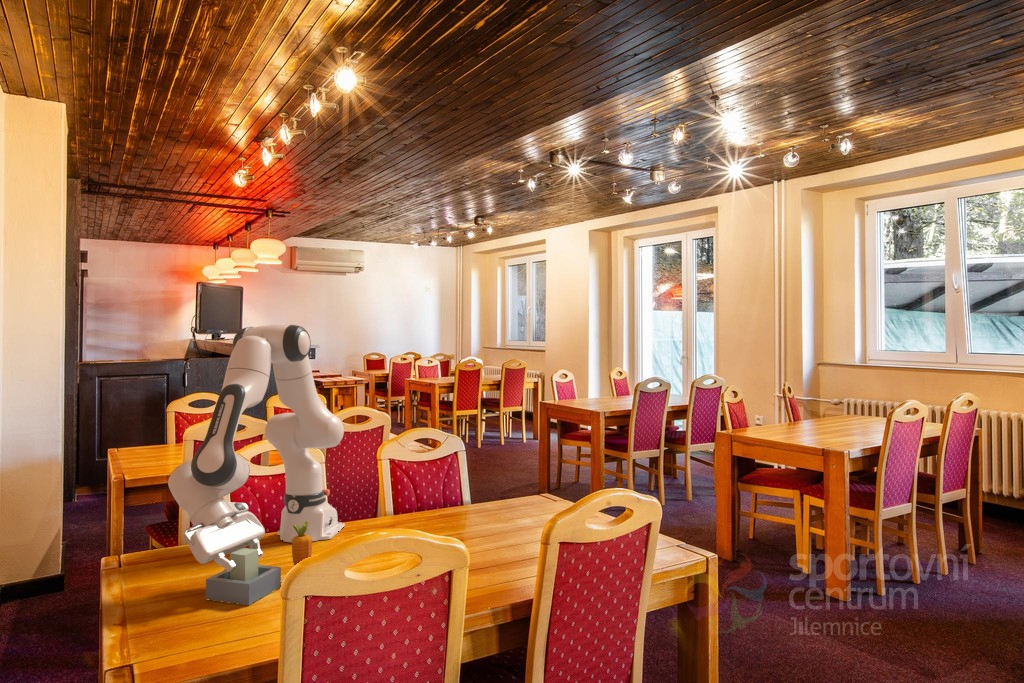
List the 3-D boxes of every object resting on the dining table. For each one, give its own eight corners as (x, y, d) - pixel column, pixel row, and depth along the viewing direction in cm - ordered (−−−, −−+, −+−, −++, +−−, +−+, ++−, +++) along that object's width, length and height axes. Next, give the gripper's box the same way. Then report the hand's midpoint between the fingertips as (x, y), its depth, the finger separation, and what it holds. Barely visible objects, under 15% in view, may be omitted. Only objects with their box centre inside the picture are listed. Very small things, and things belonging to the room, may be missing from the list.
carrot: (290, 584, 163) (291, 524, 163) (292, 577, 167) (292, 519, 168) (311, 582, 164) (311, 523, 164) (312, 575, 169) (312, 518, 169)
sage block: (243, 584, 159) (243, 547, 159) (258, 586, 158) (258, 549, 158) (229, 590, 155) (230, 553, 155) (245, 593, 153) (245, 555, 154)
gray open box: (239, 582, 164) (239, 562, 164) (280, 587, 160) (280, 567, 161) (205, 600, 152) (205, 579, 152) (249, 605, 149) (249, 584, 149)
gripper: (188, 521, 149) (222, 568, 146) (250, 501, 168) (281, 542, 165) (173, 539, 150) (206, 586, 147) (236, 517, 170) (266, 558, 166)
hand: (246, 563), depth 156 cm, fingers open, 8 cm apart
